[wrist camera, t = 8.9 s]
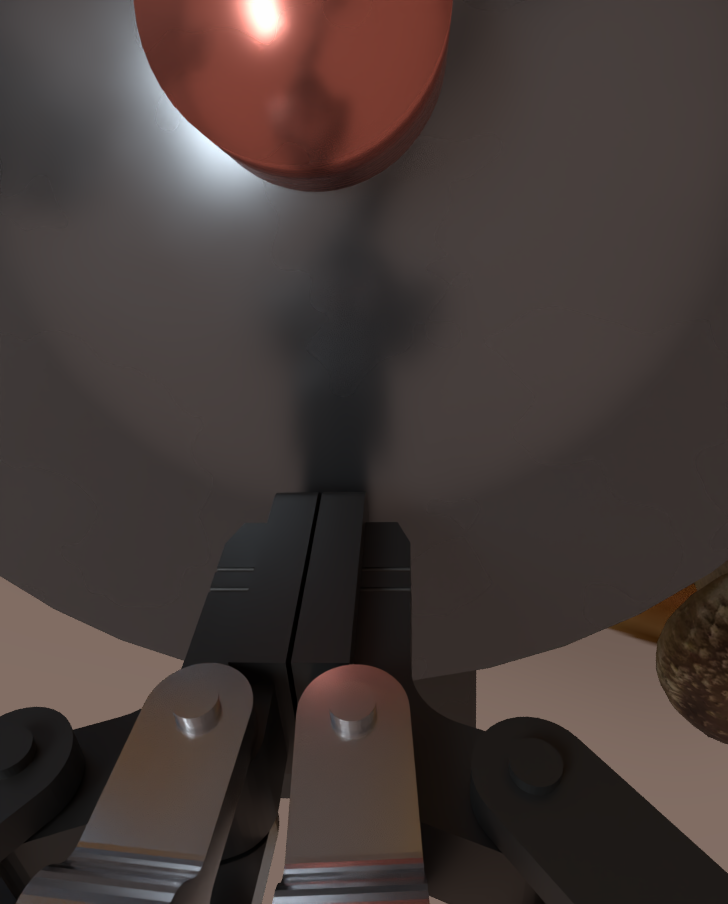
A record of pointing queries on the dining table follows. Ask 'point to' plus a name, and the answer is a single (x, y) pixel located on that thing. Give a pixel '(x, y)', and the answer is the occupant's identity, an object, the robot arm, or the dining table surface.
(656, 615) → the dining table surface
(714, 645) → the mushroom
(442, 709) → the cooker lid
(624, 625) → the dining table surface
